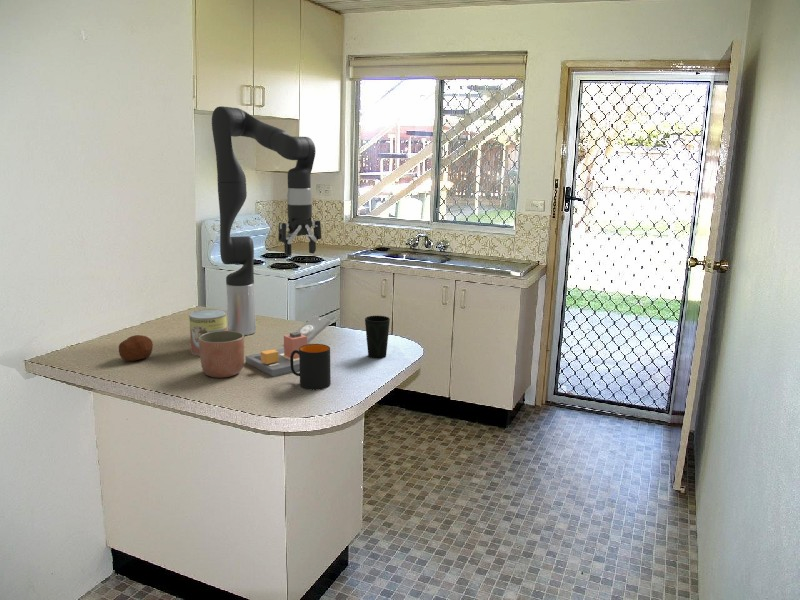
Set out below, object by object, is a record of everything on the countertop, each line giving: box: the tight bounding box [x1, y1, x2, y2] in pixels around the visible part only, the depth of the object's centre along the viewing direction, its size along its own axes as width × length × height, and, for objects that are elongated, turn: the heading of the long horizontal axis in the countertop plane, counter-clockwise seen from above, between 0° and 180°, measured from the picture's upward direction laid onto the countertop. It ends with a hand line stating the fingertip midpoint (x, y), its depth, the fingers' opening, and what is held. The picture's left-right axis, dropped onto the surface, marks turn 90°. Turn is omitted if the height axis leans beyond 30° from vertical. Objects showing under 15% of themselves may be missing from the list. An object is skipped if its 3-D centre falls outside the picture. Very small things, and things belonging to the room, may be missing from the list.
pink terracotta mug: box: [198, 330, 245, 379], centre depth 190 cm, size 12×12×11 cm
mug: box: [290, 343, 332, 391], centre depth 183 cm, size 8×12×10 cm
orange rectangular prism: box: [260, 349, 279, 364], centre depth 194 cm, size 3×4×3 cm
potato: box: [118, 334, 154, 362], centre depth 202 cm, size 8×11×8 cm
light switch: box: [295, 315, 332, 345], centre depth 221 cm, size 8×6×14 cm
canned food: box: [188, 309, 228, 357], centre depth 211 cm, size 11×11×12 cm
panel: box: [244, 347, 300, 377], centre depth 200 cm, size 16×16×2 cm
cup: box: [364, 315, 391, 360], centre depth 208 cm, size 8×8×12 cm
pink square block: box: [283, 331, 308, 359], centre depth 200 cm, size 5×5×7 cm
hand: (300, 254), depth 212 cm, fingers open, 8 cm apart
